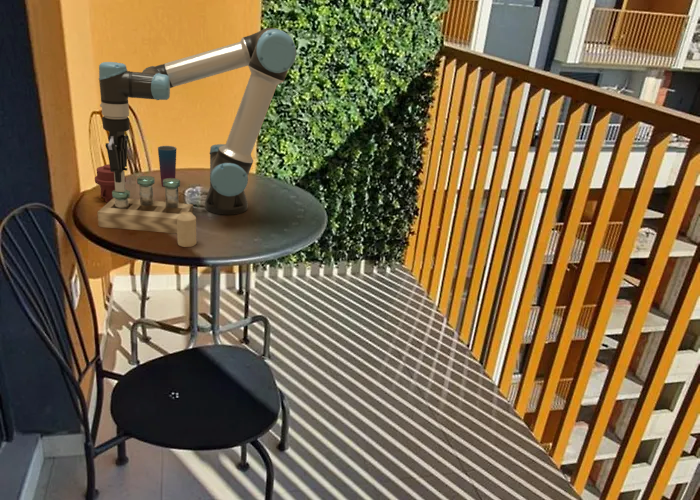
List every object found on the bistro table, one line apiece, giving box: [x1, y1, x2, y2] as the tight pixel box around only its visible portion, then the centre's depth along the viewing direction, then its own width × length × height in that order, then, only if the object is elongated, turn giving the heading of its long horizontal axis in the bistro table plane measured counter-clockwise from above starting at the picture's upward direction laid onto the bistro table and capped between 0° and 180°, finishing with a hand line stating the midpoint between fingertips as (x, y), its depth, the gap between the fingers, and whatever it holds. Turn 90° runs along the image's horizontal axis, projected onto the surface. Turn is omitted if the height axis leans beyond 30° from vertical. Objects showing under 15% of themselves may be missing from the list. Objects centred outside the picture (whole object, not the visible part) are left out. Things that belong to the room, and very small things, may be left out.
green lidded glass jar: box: [136, 175, 156, 206], centre depth 172 cm, size 5×5×8 cm
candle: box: [176, 212, 197, 248], centre depth 163 cm, size 6×6×10 cm
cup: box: [157, 145, 177, 188], centre depth 209 cm, size 7×7×15 cm
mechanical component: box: [94, 164, 127, 203], centre depth 189 cm, size 12×10×10 cm
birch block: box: [97, 198, 194, 234], centre depth 175 cm, size 26×14×5 cm, turn 92°
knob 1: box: [112, 189, 131, 209], centre depth 174 cm, size 5×5×8 cm
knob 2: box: [162, 177, 181, 208], centre depth 173 cm, size 5×5×8 cm
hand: (120, 190), depth 172 cm, fingers closed
